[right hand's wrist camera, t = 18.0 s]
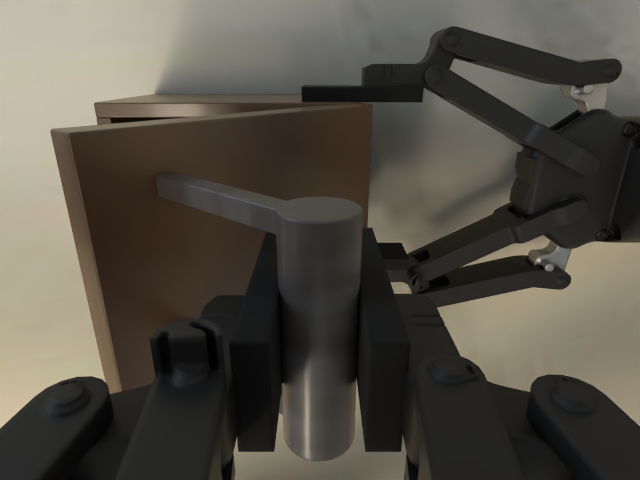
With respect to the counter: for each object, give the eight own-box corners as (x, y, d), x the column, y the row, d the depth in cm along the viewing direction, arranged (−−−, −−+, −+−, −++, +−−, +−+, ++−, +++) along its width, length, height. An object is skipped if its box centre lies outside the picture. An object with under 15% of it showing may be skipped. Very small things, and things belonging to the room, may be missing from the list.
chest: (168, 220, 34) (123, 266, 26) (151, 94, 30) (93, 102, 22) (344, 219, 34) (355, 265, 26) (348, 94, 31) (360, 102, 22)
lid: (107, 394, 16) (278, 563, 10) (48, 128, 12) (259, 174, 7) (347, 267, 26) (496, 318, 20) (352, 103, 22) (532, 113, 17)
